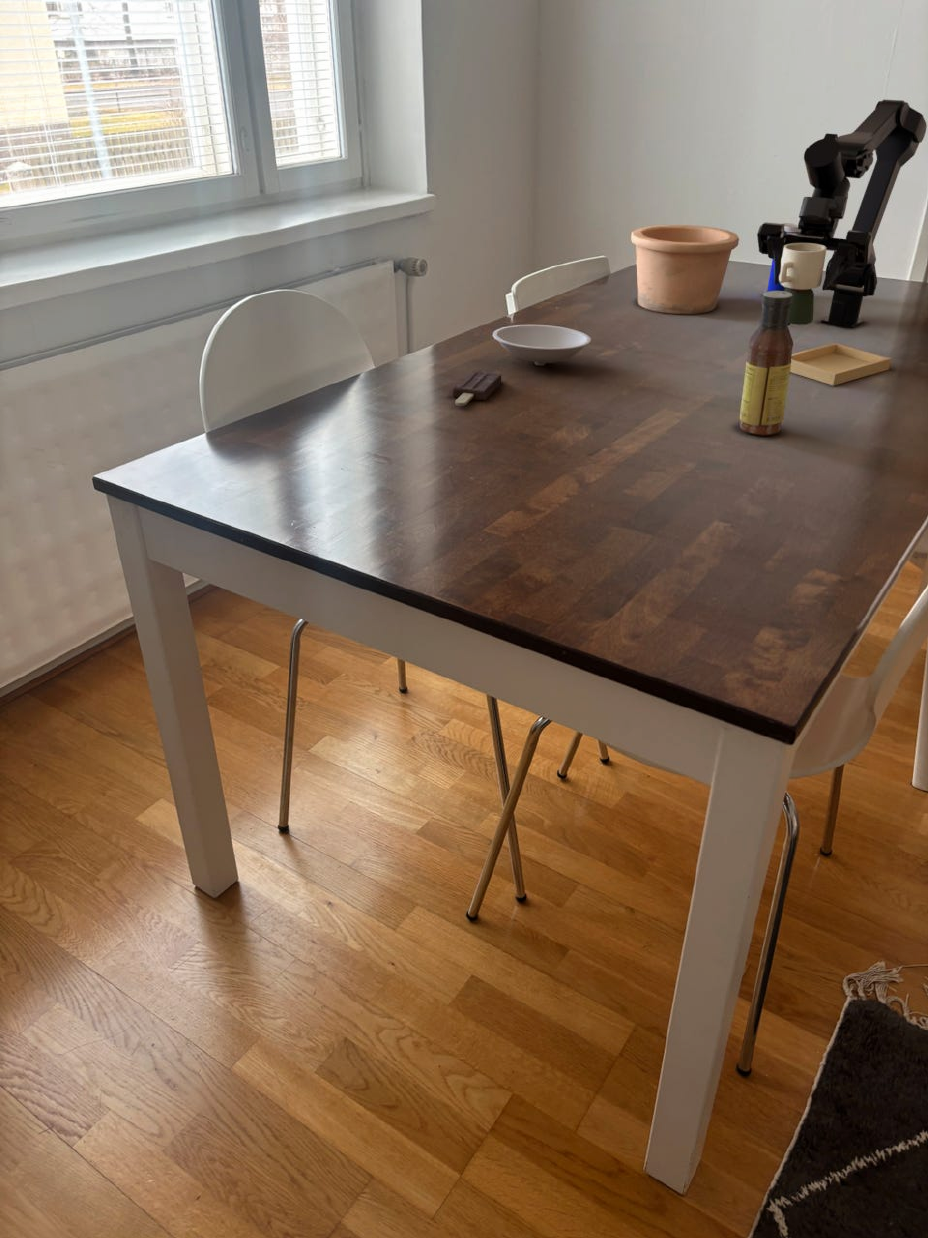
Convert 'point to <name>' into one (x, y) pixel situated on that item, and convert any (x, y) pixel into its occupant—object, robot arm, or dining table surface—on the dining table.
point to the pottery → (681, 267)
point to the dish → (541, 342)
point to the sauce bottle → (768, 367)
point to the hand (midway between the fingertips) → (799, 286)
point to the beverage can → (771, 285)
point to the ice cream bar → (476, 386)
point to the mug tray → (837, 363)
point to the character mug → (802, 278)
